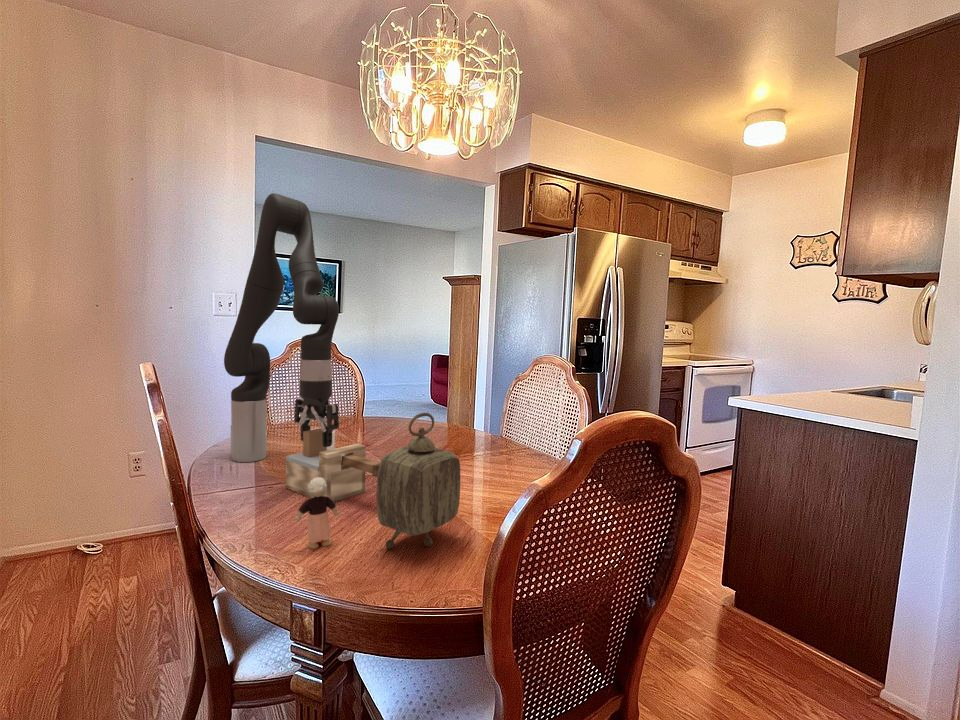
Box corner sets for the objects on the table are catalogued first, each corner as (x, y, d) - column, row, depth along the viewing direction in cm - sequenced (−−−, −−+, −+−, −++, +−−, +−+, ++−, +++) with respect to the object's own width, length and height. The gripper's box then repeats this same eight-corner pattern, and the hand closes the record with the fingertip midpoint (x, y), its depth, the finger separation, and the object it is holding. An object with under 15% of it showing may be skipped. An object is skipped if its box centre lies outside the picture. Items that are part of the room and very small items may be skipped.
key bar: (340, 465, 117) (340, 455, 117) (351, 462, 120) (351, 452, 120) (375, 476, 110) (375, 465, 110) (386, 473, 113) (386, 462, 113)
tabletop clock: (426, 524, 106) (430, 405, 103) (461, 537, 100) (466, 411, 98) (375, 549, 94) (377, 415, 92) (412, 565, 89) (415, 423, 86)
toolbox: (285, 488, 124) (285, 442, 123) (323, 477, 133) (324, 434, 132) (326, 504, 115) (327, 454, 114) (364, 492, 123) (365, 445, 122)
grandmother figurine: (331, 535, 99) (332, 471, 98) (340, 542, 96) (341, 477, 95) (292, 546, 94) (292, 479, 93) (300, 554, 91) (300, 484, 90)
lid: (285, 460, 124) (285, 431, 123) (324, 451, 132) (324, 424, 132) (318, 471, 116) (318, 440, 115) (356, 461, 125) (356, 432, 124)
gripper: (347, 379, 123) (347, 445, 124) (311, 374, 131) (311, 436, 133) (321, 382, 117) (321, 451, 118) (285, 376, 125) (285, 441, 127)
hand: (316, 443), depth 125 cm, fingers open, 8 cm apart
